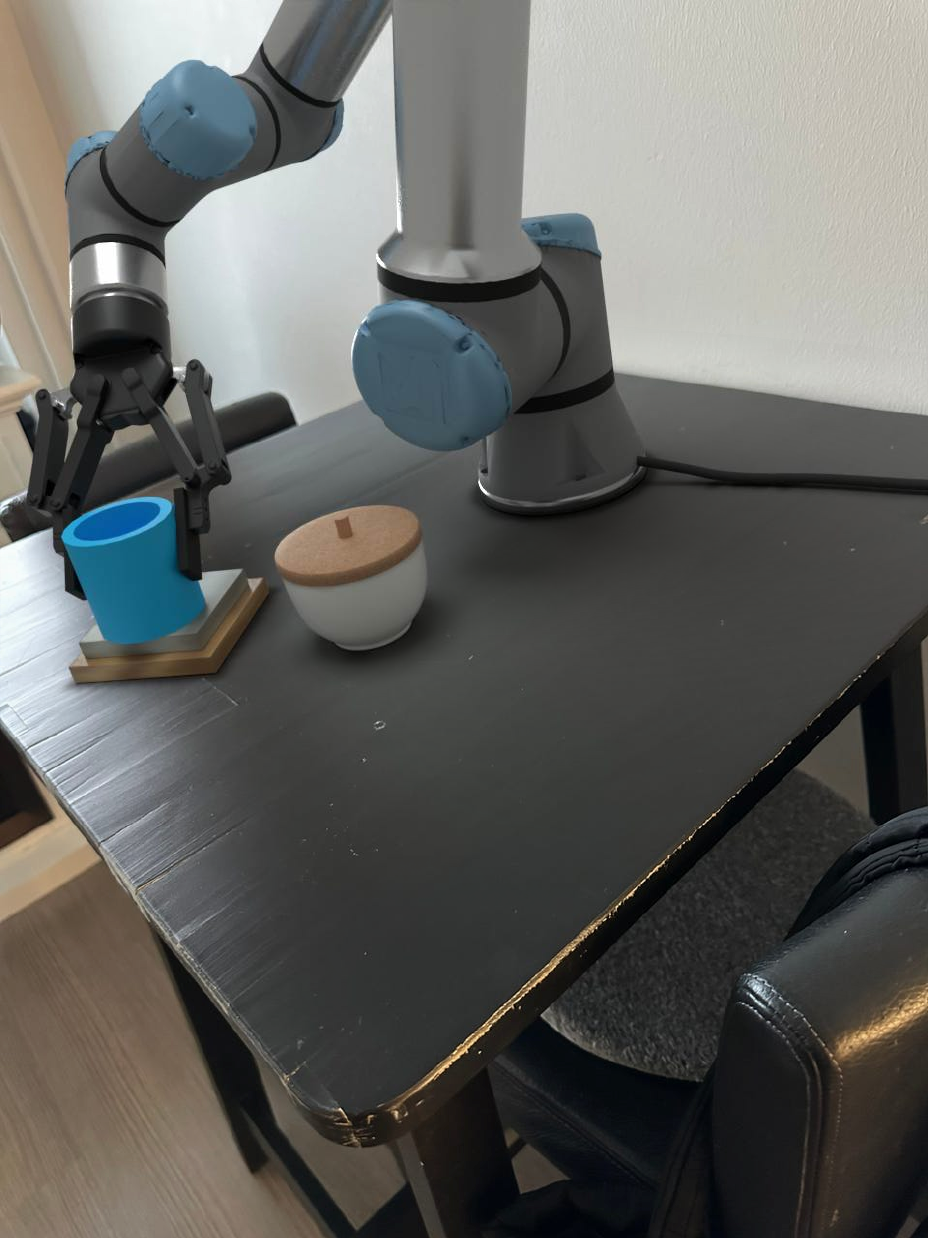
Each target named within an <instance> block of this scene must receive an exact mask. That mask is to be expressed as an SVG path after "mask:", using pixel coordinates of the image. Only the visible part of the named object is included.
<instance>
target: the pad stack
mask: <svg viewBox="0 0 928 1238" xmlns="http://www.w3.org/2000/svg"><path fill="white" fill-rule="evenodd" d="M202 579H203V580H199V584H200V587H201V589H202V592H203V595H204V598H205V604H204V608H203V609H202V611H201V612H200V614H199V615H198V616H197V617H196V618H195V619H193V620H192V621H191V622H190V623H189V624H187V625H185V626H184V627H182V628H180V629H178V630H177V631H175V632H173V633H170V634H168V635H165V636H163V637H160V638H158V639H153V640H149V641H145V642H141V643H131V644H120V643H112V642H110V641H108V640H106V639H104V638H103V636H102V634H101V632H100V630H99V627H98V625H97V622H96V623H95V624H94V625H93V626H92V627H91V628H90V630H89V631H87V632H86V634H85V635H84V636H83V637H82V638H81V640H80V641H78V646H79V647H80V650H81V652H80V654H79V655H77V657H76V658H74V660H73V661H72V662H71V664H70V665H69V666H68V670H69V672H70V675H71V676H72V679H73V681H74V684H84V683H96V682H97V683H99V682H110V681H111V682H112V681H124V680H125V681H127V680H137V679H138V680H139V679H150V678H152V679H153V678H165V677H166V678H167V677H168V678H169V677H178V676H179V677H182V676H194V675H207V674H216V673H217V672H218V671H219V670H220V668H221V666H222V665H223V664H224V662H225V660H226V659H227V657H228V656H229V655H230V653H231V651H232V650H233V648H235V647H234V646H235V645H236V643H237V642H238V641H239V639H240V637H241V636H242V634H243V633H244V632H245V630H246V629H247V627H248V625H249V624H250V622H251V621H252V619H254V617H255V615H256V613H257V611H259V609H260V608H261V606H262V605H263V603H264V601H265V600H266V599H267V597H268V595H269V594H270V590H269V587H268V585H267V581H266V579H265V577H253V578H248V576H247V574H246V571H245V568H235V569H234V568H233V569H224V570H214V571H204V572H203V571H202Z"/></svg>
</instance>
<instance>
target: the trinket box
mask: <svg viewBox="0 0 928 1238" xmlns="http://www.w3.org/2000/svg"><path fill="white" fill-rule="evenodd" d="M425 551H426V550H425V546H424V541H423V530H422V525H421V522H420V520H419V518H418V516H417V515H416V514H415V513H413V512H412V511H411V510H408V509H407V508H404V507H401V506H396V505H386V504H379V505H378V504H373V505H372V504H371V505H362V506H356V507H351V508H345V509H342V510H338V511H335V512H331V513H328V514H325V515H322V516H319V517H317V518H316V519H313V520H311V521H308V522H307V523H304V524H302V525H300V526H299V527H298V528H296V529H294V530H293V531H292V532H291V533H289V534H288V535H286V536H285V537H284V538H283V539H282V540H281V541H280V543H279V545H278V546H277V547H276V550H275V552H274V558H273V559H274V563H275V567H276V570H277V573H278V574H279V575H280V577H281V579H282V582H283V586H284V588H285V590H286V593H287V596H288V598H289V601H290V603H291V604H292V606H293V608H294V610H295V611H296V613H297V614H298V616H299V617H300V619H301V620H302V622H304V624H305V625H306V626H307V627H308V628H309V629H310V630H311V631H313V632H314V633H315V634H316V635H318V636H319V637H321V638H323V639H325V640H328V641H329V642H332V643H334V644H335V645H336V646H338V647H339V648H341V649H344V650H347V651H368V650H373V649H378V648H380V647H384V646H386V645H388V644H390V643H393V642H394V641H396V640H399V638H401V637H402V636H404V635H405V634H406V633H407V632H408V630H409V629H410V628H411V626H412V622H413V620H414V618H415V617H416V615H417V614H418V612H419V611H420V609H421V607H422V605H423V603H424V600H425V597H426V591H427V587H428V564H427V558H426V557H427V556H426V552H425Z"/></svg>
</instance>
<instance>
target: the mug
mask: <svg viewBox="0 0 928 1238" xmlns="http://www.w3.org/2000/svg"><path fill="white" fill-rule="evenodd" d="M82 515H83V516H81V517H79V518H78V519H76V520H75V521H73V522H72V523H71V524H70V525H69V526H68V527H67V528H66V529H65V530H64V531H63V534H62V536H61V538H62V540H63V542H64V545H65V547H66V550H67V552H68V555H69V557H70V559H71V562H72V564H73V567H74V569H75V572H76V574H77V576H78V579H79V581H80V584H81V586H82V588H83V591H84V593H85V596H86V598H87V600H86V601H87V603H88V605H89V607H90V611H91V613H92V615H93V618H94V620H95V622H96V623H97V625H98V627H99V630H100V632H101V634H102V636H103V638H104V639H106V640H108V641H110V642H112V643H120V644H131V643H141V642H145V641H149V640H153V639H158V638H160V637H163V636H165V635H168V634H170V633H173V632H175V631H177V630H178V629H180V628H182V627H184V626H185V625H187V624H189V623H190V622H191V621H192V620H193V619H195V618H196V617H197V616H198V615H199V614H200V612H201V611H202V609H203V608H204V604H205V598H204V595H203V592H202V589H201V587H200V584H199V581H192V580H190V579H189V578H188V577H186V576H185V575H183V574H182V573H181V572H179V570H178V554H177V538H176V522H175V507H174V502H171V501H170V500H169V499H166V498H162V497H159V496H142V497H141V496H140V497H133V498H128V499H123V500H119V501H114V502H112V503H109V504H105V505H103V506H100V507H97V508H95V509H93V510H91V511H88V512H86V513H83V514H82Z"/></svg>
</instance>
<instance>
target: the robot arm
mask: <svg viewBox="0 0 928 1238" xmlns="http://www.w3.org/2000/svg"><path fill="white" fill-rule="evenodd" d="M531 8H532V0H282V2H281V4H280V6H279V8H278V9H277V12H276V13H275V16H274V18H273V20H272V22H271V23H270V26H269V28H268V30H267V32H266V34H265V36H264V38H263V39H262V41H261V43H260V44H259V47H258V49H257V51H256V53H255V54H254V56H253V58H252V59H251V61H250V64H249V65H248V67H247V69H245V71H244V72H243V73H237V74H234V75H230V74H229V73H228V72H226V71H225V70H223V69H222V68H221V67H219V66H217V65H207V64H206V63H205V62H204V61H203V60H200V59H187V60H184V61H181V62H179V63H177V64H175V65H174V66H173V67H172V68H171V69H170V70H169V71H168V72H167V73H166V74H165V75H164V76H163V77H162V78H160V79H158V80H157V81H156V82H155V83H153V84H152V86H151V88H150V89H149V90H147V91H146V93H145V95H144V98H143V99H142V101H141V102H140V104H139V105H138V106H137V108H136V109H135V110H134V111H133V112H132V114H131V115H130V116H129V117H128V119H127V120H126V121H125V122H124V124H123V125H122V127H121V128H120V129H119V130H99V131H94V133H93V134H92V135H90V136H82V137H80V138H79V139H77V141H75V142H74V144H73V145H72V146H71V148H70V150H69V151H68V155H67V158H66V159H67V160H66V175H65V179H64V186H65V188H64V199H65V203H66V205H65V206H66V222H67V240H68V241H67V242H68V258H69V259H68V260H69V295H70V296H69V304H70V305H69V306H70V307H69V308H70V312H71V319H70V326H71V327H70V328H71V352H72V360H73V365H74V372H73V376H72V377H71V380H70V382H69V385H68V386H67V387H64V388H61V389H59V390H56V391H53V392H51V391H49V390H48V389H47V388H40V389H38V390H37V391H36V392H35V394H34V395H35V396H34V398H35V405H36V409H37V413H38V422H37V428H36V435H35V441H34V448H33V454H32V459H31V460H32V461H31V467H30V472H29V473H30V474H29V479H28V487H27V491H26V492H27V493H26V505H28V506H29V507H31V508H32V509H33V510H35V511H37V512H38V513H40V514H42V515H43V516H44V517H45V518H52V521H51V522H52V548H53V550H54V552H55V554H57V555H58V556H60V557H62V558H63V572H64V574H63V575H64V592H66V593H68V594H69V595H72V596H73V597H75V598H77V599H79V600H81V601H83V602H84V601H87V598H86V596H85V593H84V591H83V588H82V586H81V584H80V581H79V579H78V576H77V574H76V572H75V569H74V567H73V564H72V562H71V559H70V557H69V555H68V552H67V550H66V547H65V545H64V542H63V540H62V538H61V536H62V534H63V531H64V530H65V529H66V528H67V527H68V526H69V525H70V524H71V523H72V522H73V521H75V520H76V519H78V518H79V517H81V516H83V515H84V514H82V513H81V512H82V509H83V506H84V504H85V501H86V499H87V496H88V493H89V491H90V487H91V485H92V482H93V480H94V477H95V474H96V472H97V471H98V470H97V469H98V468H99V464H100V461H101V460H102V456H103V454H104V451H105V449H106V446H107V445H109V444H111V442H112V440H113V437H114V435H115V433H116V431H122V430H125V429H126V428H129V427H132V426H139V427H143V426H147V425H150V427H151V428H152V430H153V432H154V434H155V435H156V437H157V439H158V441H159V442H160V444H161V446H162V448H163V449H164V451H165V453H166V455H167V456H168V459H169V460H170V462H171V463H172V466H173V467H174V469H175V470H176V472H177V474H178V475H179V477H180V478H179V480H180V481H181V482H182V484H184V485H185V487H184V486H182V487H177V488H173V491H172V492H173V503H174V507H175V522H176V538H177V554H178V570H179V572H181V573H182V574H183V575H185V576H186V577H188V578H189V579H190V580H192V581H199V580H203V579H202V573H203V568H202V567H203V566H202V551H201V539H200V536H201V535H205V534H209V533H210V530H211V528H212V527H211V515H210V514H211V513H210V500H209V498H210V494H211V492H212V491H213V490H214V489H215V488H217V487H219V486H228V485H229V484H230V483H231V482H232V478H233V477H232V476H233V475H232V472H231V468H230V464H229V461H228V458H227V454H226V450H225V445H224V443H223V438H222V435H221V432H220V429H219V425H218V421H217V417H216V414H215V411H214V410H215V409H214V407H213V404H212V391H213V383H214V382H213V381H214V379H213V376H212V375H211V374H210V372H209V371H208V370H207V368H206V367H205V366H204V365H203V363H202V362H201V361H200V360H199V359H196V358H193V359H191V360H188V362H187V363H186V365H174V364H173V362H172V357H173V354H172V353H173V352H172V340H171V324H170V320H169V318H168V317H169V310H170V309H169V297H168V296H169V295H168V281H167V266H166V264H167V263H166V245H165V243H166V242H165V240H166V237H167V234H168V233H169V232H170V231H171V230H172V229H173V228H174V227H176V225H177V224H179V223H180V222H181V221H182V220H183V219H184V218H185V217H187V215H188V214H189V213H190V212H191V211H192V210H193V209H194V208H195V207H196V206H197V205H198V204H199V203H200V202H201V201H202V200H203V199H204V198H205V197H207V196H208V195H210V194H211V193H213V192H215V191H217V190H219V189H223V188H226V187H228V186H232V185H235V184H237V183H240V182H243V181H246V180H248V179H251V178H255V177H258V176H259V175H262V174H265V173H268V172H271V171H274V170H277V169H280V168H283V167H287V166H290V165H294V164H299V163H304V162H307V161H309V160H312V159H313V158H315V157H317V155H318V154H319V153H322V152H324V151H326V150H328V149H329V148H331V146H333V145H334V144H335V143H336V141H337V140H338V139H339V137H340V135H341V133H342V130H343V127H344V113H345V102H344V99H343V97H344V95H346V92H347V91H348V89H349V87H350V85H351V84H352V82H353V81H354V79H355V78H356V76H357V74H358V72H359V71H360V69H361V68H362V65H363V64H364V63H365V60H366V59H367V57H368V55H370V52H371V51H372V49H373V47H374V46H375V44H376V43H377V41H378V40H379V37H380V36H381V34H382V33H383V31H384V29H385V28H386V26H387V24H388V23H389V21H390V19H391V20H392V21H391V22H392V25H391V26H392V59H393V62H392V63H393V96H394V99H393V101H394V102H393V103H394V136H395V140H394V141H395V175H396V176H395V180H396V213H397V216H396V217H397V218H396V219H397V224H396V227H395V228H394V230H393V231H392V232H390V234H389V235H388V236H387V237H386V238H385V239H384V240H383V241H382V242H381V243H380V245H378V247H377V250H376V277H377V278H376V279H377V280H376V281H377V283H376V284H377V305H376V306H374V307H373V308H372V309H371V310H370V311H369V312H368V314H366V316H365V317H364V318H363V320H362V322H361V324H360V325H358V328H357V329H356V331H355V334H354V337H353V340H352V344H351V352H350V353H351V354H350V359H351V361H350V362H351V369H352V374H353V378H354V381H355V384H356V387H357V389H358V391H359V393H360V395H361V397H362V399H363V401H364V403H365V404H366V406H367V407H368V409H369V410H370V412H371V413H372V414H373V415H375V416H377V417H378V418H380V419H381V421H382V422H383V424H384V427H385V428H386V429H388V430H389V431H390V432H391V433H393V434H394V435H395V436H397V437H398V438H400V439H402V440H403V441H405V442H407V443H409V444H410V445H413V446H416V447H419V448H421V449H425V450H429V451H435V452H454V451H461V450H463V449H466V448H469V447H470V446H473V445H475V444H476V443H478V442H480V441H481V443H480V444H481V445H480V452H479V461H478V462H479V463H478V469H477V475H478V485H479V490H480V495H481V498H482V500H483V501H484V502H485V504H487V505H489V506H490V507H492V508H494V509H496V510H498V511H502V512H506V513H510V514H517V515H526V516H527V515H529V516H538V515H539V516H544V515H557V514H564V513H571V512H575V511H580V510H584V509H588V508H591V507H592V508H593V507H595V506H597V505H601V504H603V503H606V502H609V501H611V500H613V499H616V498H618V497H620V496H622V495H624V494H625V493H627V492H628V491H629V490H631V489H632V488H634V487H635V486H636V485H638V484H639V483H640V482H641V480H642V479H643V478H644V477H645V474H646V471H647V468H648V469H655V470H660V471H668V472H671V473H679V474H682V475H683V474H684V475H688V476H693V477H698V478H701V479H708V480H712V481H720V482H728V483H736V484H737V483H741V484H761V485H764V484H765V485H768V484H769V485H770V484H771V485H777V484H783V485H784V484H787V485H788V484H791V485H792V484H793V485H794V484H795V485H797V484H799V485H800V484H801V485H803V484H805V485H830V486H848V487H862V488H863V487H864V488H878V489H891V490H904V491H905V490H906V491H924V492H928V478H927V479H925V478H924V479H923V478H904V477H891V476H890V477H888V476H872V475H857V474H839V473H817V472H815V473H813V472H811V473H810V472H778V473H777V472H776V473H775V472H774V473H773V472H771V473H770V472H769V473H768V472H756V473H755V472H739V471H729V470H719V469H715V468H714V469H713V468H708V467H703V466H699V465H695V464H690V463H684V462H678V461H673V460H666V459H660V458H655V457H649V456H646V453H645V449H644V444H643V442H642V441H643V440H642V439H641V436H640V435H639V434H638V432H637V429H636V427H635V425H634V423H633V420H632V418H631V416H630V414H629V411H628V410H627V408H626V406H625V404H624V401H623V400H622V397H621V395H620V393H619V391H618V388H617V386H616V378H615V371H614V363H613V362H614V361H613V354H612V346H611V345H612V344H611V338H610V337H611V336H610V329H609V321H608V320H609V319H608V312H607V304H606V303H607V302H606V295H605V287H604V278H603V269H602V262H601V261H602V260H603V258H602V257H603V255H602V251H601V250H600V249H599V245H598V240H597V235H596V229H595V225H594V223H593V222H592V220H591V218H589V217H588V216H587V215H585V214H583V213H578V212H567V213H556V214H554V213H553V214H547V215H546V214H545V215H538V216H531V217H529V216H528V217H523V218H522V216H523V198H524V197H523V196H524V195H523V193H524V175H525V174H524V173H525V149H526V128H527V125H526V124H527V102H528V84H529V83H528V79H529V58H530V57H529V55H530V37H531V36H530V35H531V13H532V12H531V11H532V9H531ZM177 385H178V386H179V388H180V390H182V392H183V393H184V395H185V399H186V402H187V406H188V409H189V413H190V417H191V421H192V424H193V429H194V432H195V436H196V440H197V443H198V446H199V451H200V454H201V458H202V462H203V465H204V466H203V467H201V468H199V465H198V464H197V462H196V461H195V459H194V457H193V456H192V454H191V452H190V451H189V448H188V447H187V446H186V444H185V442H184V440H183V438H182V437H181V435H180V433H179V431H178V429H177V428H176V426H175V423H174V421H173V420H172V418H171V416H170V414H169V413H168V411H167V409H166V408H165V405H166V403H167V401H168V400H169V397H170V396H171V395H172V393H173V392H174V390H175V389H176V386H177ZM77 403H79V405H80V406H81V408H80V410H79V413H78V416H77V418H76V432H75V435H74V437H73V439H72V442H71V445H70V447H69V450H68V452H67V447H68V439H69V433H70V432H69V431H70V426H69V425H70V424H69V420H72V419H73V417H74V414H73V408H74V406H75V405H76V404H77ZM66 453H67V454H66Z"/></svg>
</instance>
